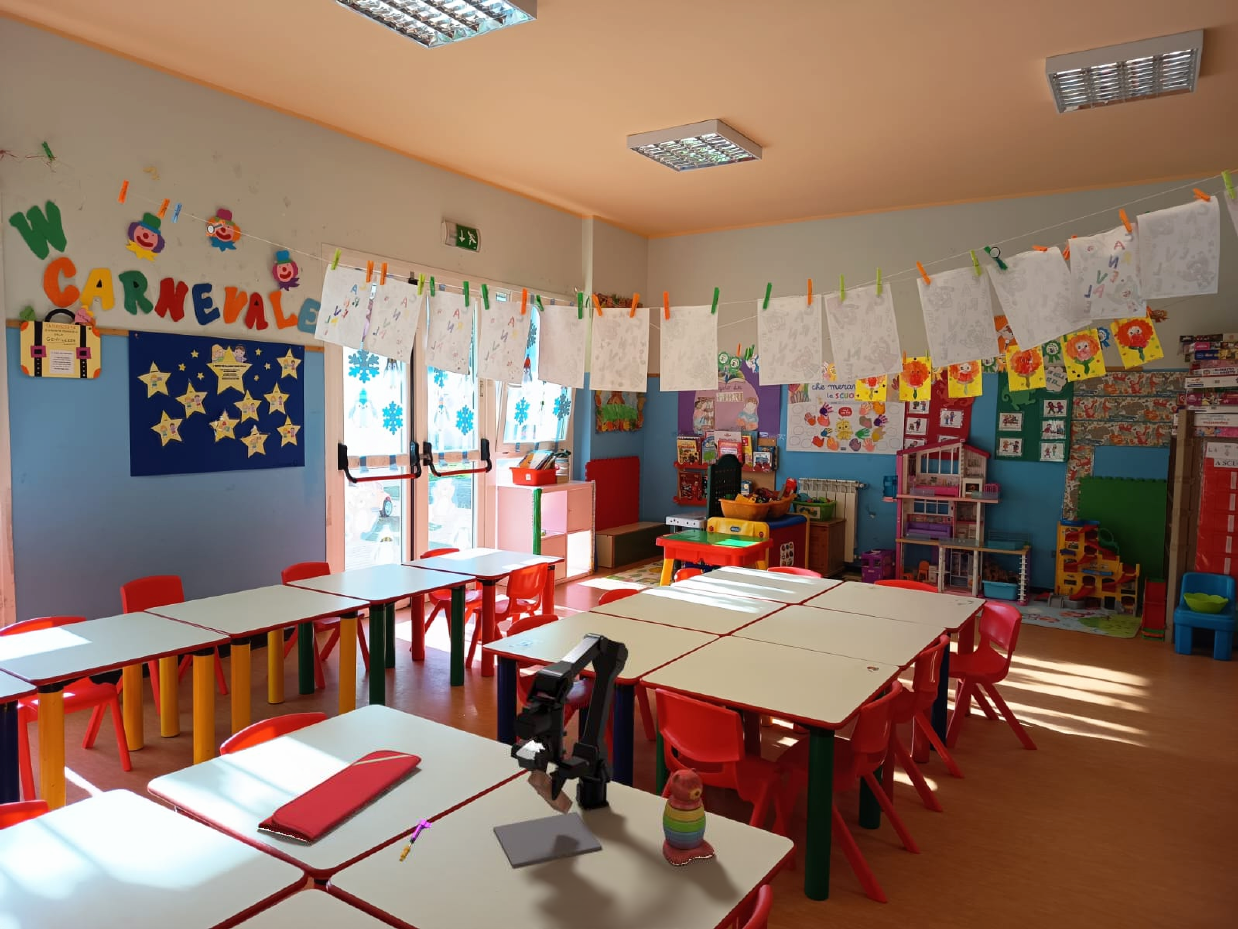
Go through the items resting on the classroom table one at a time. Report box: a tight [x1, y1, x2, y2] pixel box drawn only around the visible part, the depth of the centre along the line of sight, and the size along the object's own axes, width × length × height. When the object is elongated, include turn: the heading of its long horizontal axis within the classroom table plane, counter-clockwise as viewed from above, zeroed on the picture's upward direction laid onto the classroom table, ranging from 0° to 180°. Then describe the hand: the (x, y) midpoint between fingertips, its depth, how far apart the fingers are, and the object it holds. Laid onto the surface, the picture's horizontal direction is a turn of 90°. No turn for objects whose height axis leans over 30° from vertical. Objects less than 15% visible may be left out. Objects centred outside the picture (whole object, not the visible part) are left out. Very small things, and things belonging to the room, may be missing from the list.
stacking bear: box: [662, 767, 715, 865], centre depth 179 cm, size 11×10×18 cm
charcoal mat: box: [493, 811, 603, 868], centre depth 183 cm, size 20×16×1 cm
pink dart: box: [399, 818, 432, 861], centre depth 181 cm, size 3×1×16 cm
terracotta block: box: [526, 769, 574, 815], centre depth 183 cm, size 3×4×13 cm
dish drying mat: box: [257, 749, 422, 843], centre depth 201 cm, size 16×41×4 cm, turn 158°
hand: (547, 797), depth 182 cm, fingers closed on terracotta block, 4 cm apart
